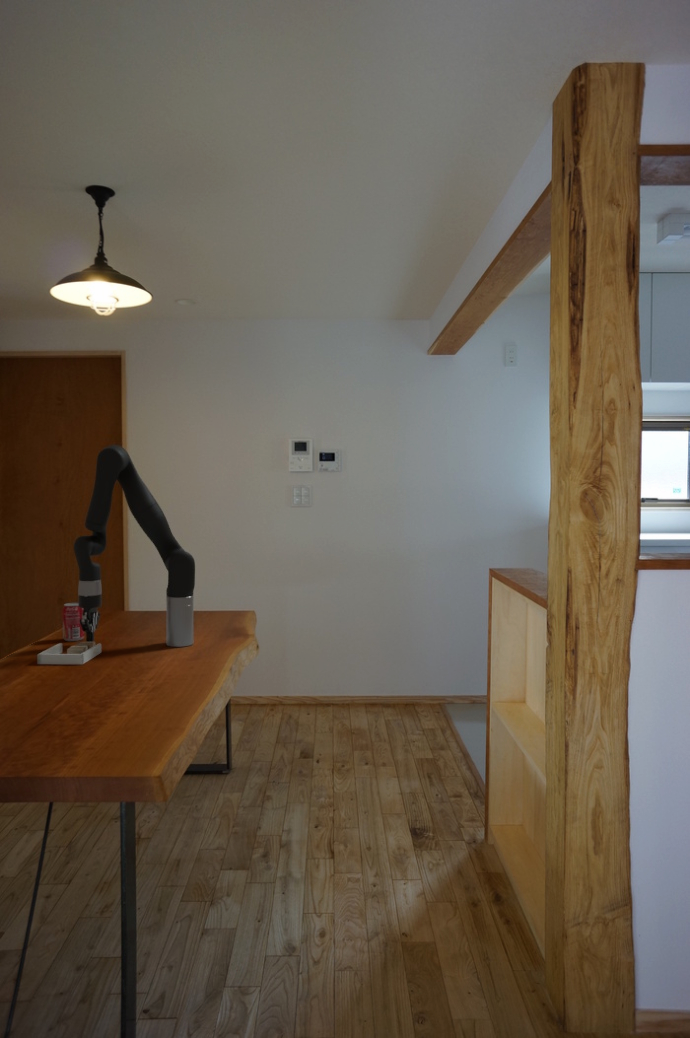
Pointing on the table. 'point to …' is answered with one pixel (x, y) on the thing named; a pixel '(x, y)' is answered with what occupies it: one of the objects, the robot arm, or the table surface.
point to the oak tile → (77, 649)
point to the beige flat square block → (86, 644)
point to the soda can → (72, 622)
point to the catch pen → (66, 655)
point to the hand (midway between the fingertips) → (90, 642)
